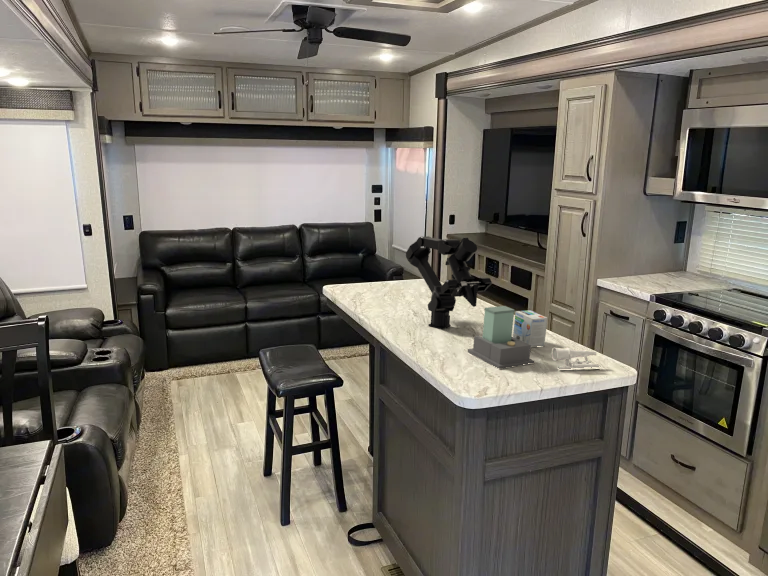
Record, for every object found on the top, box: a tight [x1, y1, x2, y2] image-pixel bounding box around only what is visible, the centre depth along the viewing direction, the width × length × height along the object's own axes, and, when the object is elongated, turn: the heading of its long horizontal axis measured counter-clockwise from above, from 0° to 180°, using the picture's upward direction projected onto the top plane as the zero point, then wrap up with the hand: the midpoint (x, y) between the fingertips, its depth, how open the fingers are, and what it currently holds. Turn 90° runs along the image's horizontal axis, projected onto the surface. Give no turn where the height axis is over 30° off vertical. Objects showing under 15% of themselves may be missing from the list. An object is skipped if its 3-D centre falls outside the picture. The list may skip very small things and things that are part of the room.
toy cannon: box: [551, 347, 601, 369], centre depth 181 cm, size 8×14×5 cm
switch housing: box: [467, 335, 535, 369], centre depth 187 cm, size 17×14×7 cm
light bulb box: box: [512, 309, 548, 348], centre depth 204 cm, size 11×7×11 cm, turn 21°
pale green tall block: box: [482, 305, 516, 344], centre depth 188 cm, size 5×8×15 cm, turn 117°
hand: (474, 306), depth 199 cm, fingers closed
